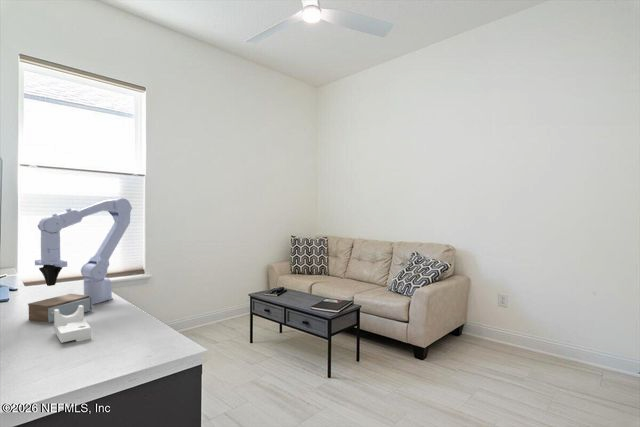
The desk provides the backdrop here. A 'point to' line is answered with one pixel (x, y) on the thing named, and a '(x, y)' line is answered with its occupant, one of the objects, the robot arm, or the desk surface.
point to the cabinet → (40, 308)
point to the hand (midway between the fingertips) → (51, 285)
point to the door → (69, 308)
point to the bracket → (71, 326)
